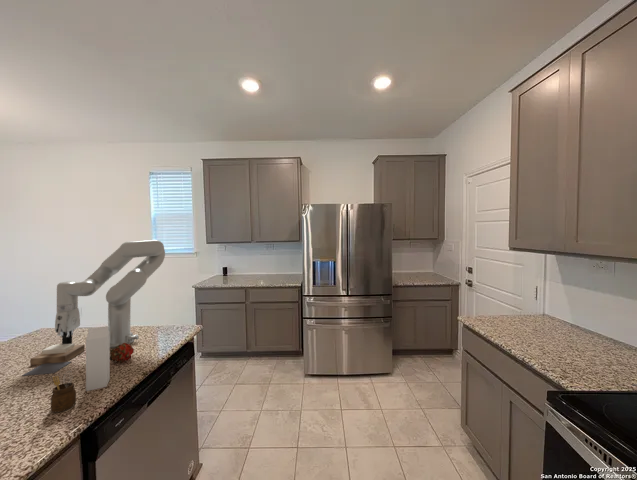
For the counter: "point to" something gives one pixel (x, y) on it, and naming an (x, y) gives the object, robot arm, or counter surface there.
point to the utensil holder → (62, 395)
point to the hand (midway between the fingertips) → (67, 344)
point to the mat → (47, 368)
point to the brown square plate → (57, 356)
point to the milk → (97, 358)
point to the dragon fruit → (121, 353)
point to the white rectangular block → (58, 349)
